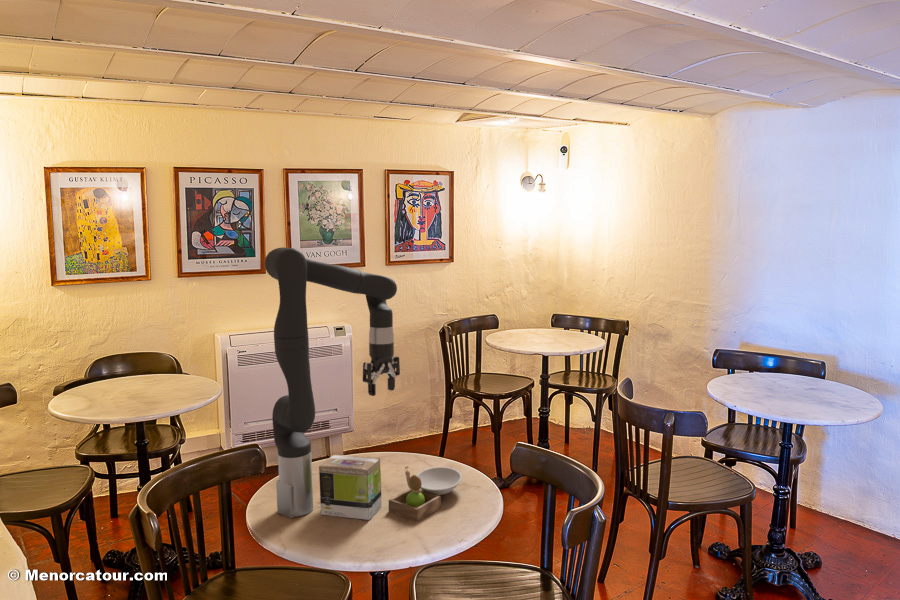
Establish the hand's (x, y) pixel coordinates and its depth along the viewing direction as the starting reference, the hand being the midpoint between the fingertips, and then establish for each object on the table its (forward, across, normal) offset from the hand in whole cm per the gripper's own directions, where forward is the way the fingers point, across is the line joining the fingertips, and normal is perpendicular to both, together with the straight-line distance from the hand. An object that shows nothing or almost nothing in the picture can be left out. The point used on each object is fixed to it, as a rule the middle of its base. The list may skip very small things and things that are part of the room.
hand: (381, 392), depth 196 cm
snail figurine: (+30, -7, -19) cm, 36 cm away
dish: (+30, +5, -18) cm, 35 cm away
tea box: (+30, -18, -5) cm, 36 cm away
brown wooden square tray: (+30, -7, -19) cm, 36 cm away
